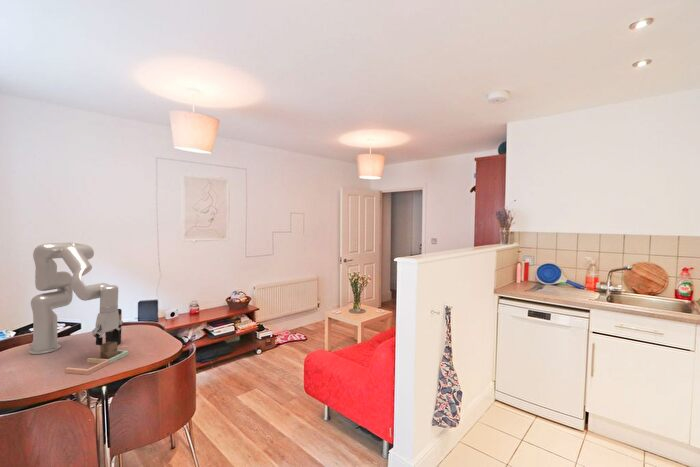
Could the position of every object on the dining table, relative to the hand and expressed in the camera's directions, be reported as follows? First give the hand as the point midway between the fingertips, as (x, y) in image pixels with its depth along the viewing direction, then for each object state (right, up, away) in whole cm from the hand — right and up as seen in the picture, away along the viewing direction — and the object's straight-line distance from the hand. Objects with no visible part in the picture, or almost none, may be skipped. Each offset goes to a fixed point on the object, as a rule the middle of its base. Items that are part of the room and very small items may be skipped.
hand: (107, 341), depth 165 cm
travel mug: (-11, -8, +19) cm, 24 cm away
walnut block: (+1, -9, 0) cm, 9 cm away
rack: (0, -9, -6) cm, 11 cm away
